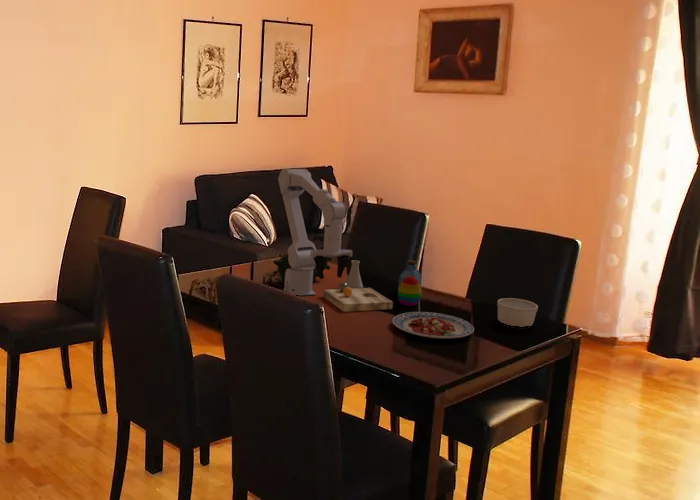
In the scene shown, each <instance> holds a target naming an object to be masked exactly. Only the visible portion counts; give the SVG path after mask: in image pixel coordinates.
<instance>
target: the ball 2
mask: <svg viewBox="0 0 700 500" xmlns="http://www.w3.org/2000/svg"><path fill="white" fill-rule="evenodd" d="M343 294H344V295H345V296H350V295H351V294H352V289H351V288H350V287H346V288H344V290H343Z"/></svg>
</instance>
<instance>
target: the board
mask: <svg viewBox="0 0 700 500" xmlns="http://www.w3.org/2000/svg"><path fill="white" fill-rule="evenodd" d="M322 297H323V298H325V299H326V300H327V301H329V303H332V304H333V305H334V306H336V307H337V308H338V309H339V310H341V312H343V313H344V312H360V311H362V312H363V311H381V310H382V311H383V310H392V309H393V306H394V305H393V304H394V302H393V301H392V300H390V299H389V298H387V297H386V296H384V295H382V294H381V293H379V292H378V291H377V290H375V289H373V288H372V287H363V288H354V289H352V294H351V295H350V296H345V295H344V294H343V291H340V289H339V288H334V289H323V296H322Z"/></svg>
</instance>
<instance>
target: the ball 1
mask: <svg viewBox="0 0 700 500" xmlns="http://www.w3.org/2000/svg"><path fill="white" fill-rule="evenodd" d="M346 287H348V285H347V284H346V283H345V282H343V281H342V282H340V283H339V285H338V289H340V291H343V290H344V288H346Z"/></svg>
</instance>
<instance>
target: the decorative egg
mask: <svg viewBox="0 0 700 500" xmlns="http://www.w3.org/2000/svg"><path fill="white" fill-rule="evenodd" d="M398 286H399V285H398ZM421 286H422V285H421ZM421 286H420V283H419V282H418V280H417V279H416V278H415V277H413V276H408V277H406V278H405V279H404V280H403V281H402V282H401V284H400V286H399V289H398V288H397V298H398V300H399V303H400V304H401V305H403V306H408V307H414V306H417V305H418V304H419V302H420V300H421V297H422V293H423V292H422V287H421Z"/></svg>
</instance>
